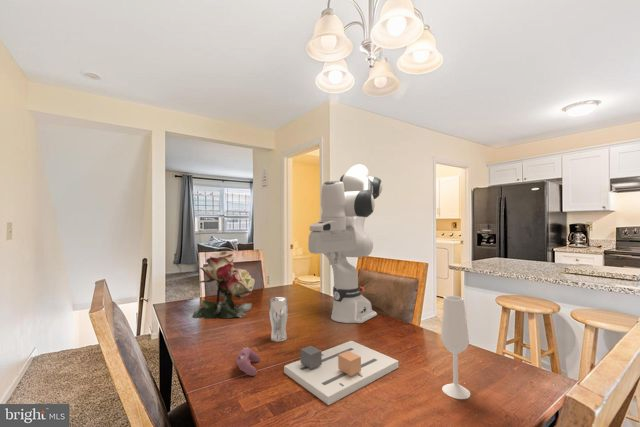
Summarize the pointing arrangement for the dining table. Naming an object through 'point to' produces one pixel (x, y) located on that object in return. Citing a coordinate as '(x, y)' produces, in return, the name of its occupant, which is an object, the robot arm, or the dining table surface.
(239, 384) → the dining table surface
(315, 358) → the block
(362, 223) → the robot arm
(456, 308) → the champagne flute
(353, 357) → the block
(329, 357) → the fader panel
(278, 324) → the beer glass
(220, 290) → the rose bouquet
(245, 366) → the video game controller
